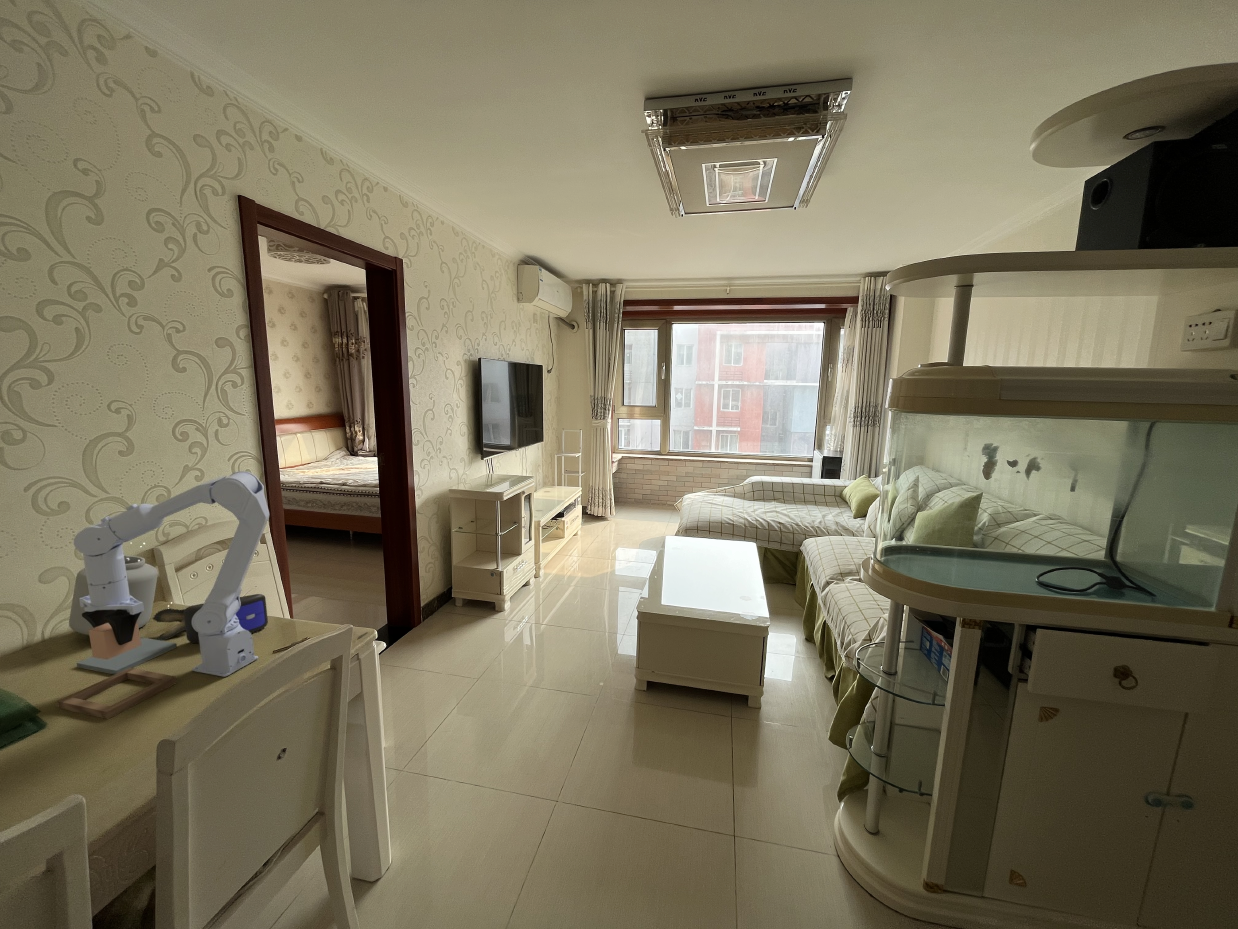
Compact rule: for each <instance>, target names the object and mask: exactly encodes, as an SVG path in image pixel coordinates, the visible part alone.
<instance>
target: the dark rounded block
mask: <svg viewBox="0 0 1238 929" xmlns="http://www.w3.org/2000/svg"><path fill="white" fill-rule="evenodd" d="M266 600H267V599H266V596H265V594H262V593H257V594H251V595H244V596H240V602H241V605H240V609H239V610H238V612H237V613H236V616H237V618H238V620H239V624H240V626H241V627H242V628H243V629H245V630H247V631H249V632H250V633H251V634H252V633H256V632H258V631H260V630H263V629H264V628H265V627H266V626H267V625H268V624H269V620H268V610H267V601H266ZM203 605H204V603H198V604H194V605H189V606H188V607H185V608H184V609H185V610H184V620H185V628H186V630H185V634H186V640H187V641H188V643H189V642H190V643H192V644H200V643H199V635H198V632H197V631H195V630H194V628H193V627H192V618H193V616H194V614H195V613H196V612H197V611H198V610H200V609H201V608H202V607H203Z"/></svg>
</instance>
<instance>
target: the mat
mask: <svg viewBox="0 0 1238 929" xmlns="http://www.w3.org/2000/svg"><path fill="white" fill-rule="evenodd" d="M140 640H141V645H140V646H138V647H136V648H133V649H131V650H129V651H126V652H124V653H122V654H120V655H117V656H115V657H113V658H111V659H108V660H107V659H101V658H95V657H93V655H91V656H89V657H87V658H85V659H82V660H79V661H77V662H76V667H77V668H79V669H84V670H85V669H86V670H91V671H95V672H101V673H106V674H111V675H115V674H117V673H120V672H122V671H124V670H126V669H128V668H135V667H137V666H139V665H142V664H144V663H146V662H148V661H150V660H152V659H154V658H157V657H159V656H161V655H163V654H166V653H167V652H170V651H172V650H174V649H176V648H178V646H177V643H175V642H171V641H165V640H157V639H153V638H149V637H148V638H147V637H143V636H140Z"/></svg>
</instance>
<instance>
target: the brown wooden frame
mask: <svg viewBox="0 0 1238 929" xmlns="http://www.w3.org/2000/svg"><path fill="white" fill-rule="evenodd" d="M127 680H131V681H136V682H137V681H138V682H142V683H147V684H151V685H149V686H147V687H145V688H143V689H140V690H139V691H137V692H135V693H133V694H130V695H129V696H127V697H125V698H123V699H121V700H119V701H117V702H114V703H113V704H111V705H110V704H109V705H108V704H104V703H99V702H96V701H95V702H94V701H91V700H88V699H89V698H91V697H94V696H95V695H98V694H99V693H101V692H103V691H106V690H108V689H110V688H113V687H114V686H117V685H119V684H120V683H122V682H125V681H127ZM175 683H176V684H177V683H178V681H177V677H176V676H175V675H170V674H166V673H160V672H154V671H149V670H144V669H143V670H142V669H138V668H135V667H133V668H128V669H126V670H124V671H122V672H120V673H117V674H112V675H111V676H109V677H107V678H104V679H103V680H101V681H97V682H96V683H94V684H92V685H90V686H87V687H86V688H83V689H80V690H79V691H78V690H77V692H74V693H72V694H70V695H68V696H66V697H63V698H61V699H59V700H57V705H58V709H61V710H65V711H71V712H75V713H79V714H84V715H88V716H91V717H92V716H93V717H97V718H100V717H101V718H100V719H105V718H107V719H106V720H109V719H111V718H113V717H115V716H117V715H119V714H120V712H121V713H122V712H124V711H126V710H128V709H130V708H132V707H134V706H136V705H137V704H139V703H141V702H143V701H145V700H147V699H149V698H152V697H153V696H154V695H157V694H159V693H160V692H162V691H164V690H167V689H168V688H170V687H172V686H173V685H176V684H175ZM118 713H119V714H118ZM116 714H117V715H116ZM114 715H115V716H114ZM102 717H103V718H102ZM110 717H111V718H110ZM108 718H109V719H108Z"/></svg>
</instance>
